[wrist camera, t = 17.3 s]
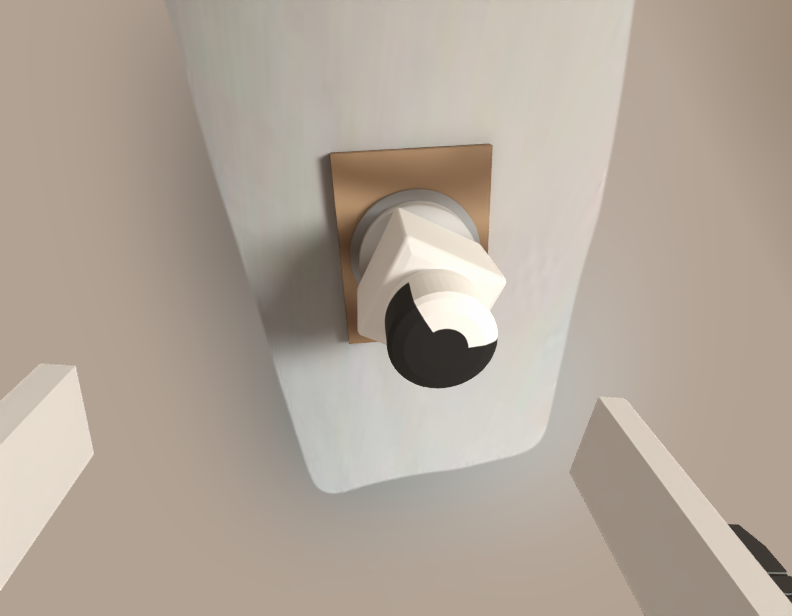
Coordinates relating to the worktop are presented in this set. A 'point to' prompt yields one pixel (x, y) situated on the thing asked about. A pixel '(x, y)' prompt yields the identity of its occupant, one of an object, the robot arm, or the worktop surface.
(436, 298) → the medicine bottle
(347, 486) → the worktop surface
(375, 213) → the stub board
